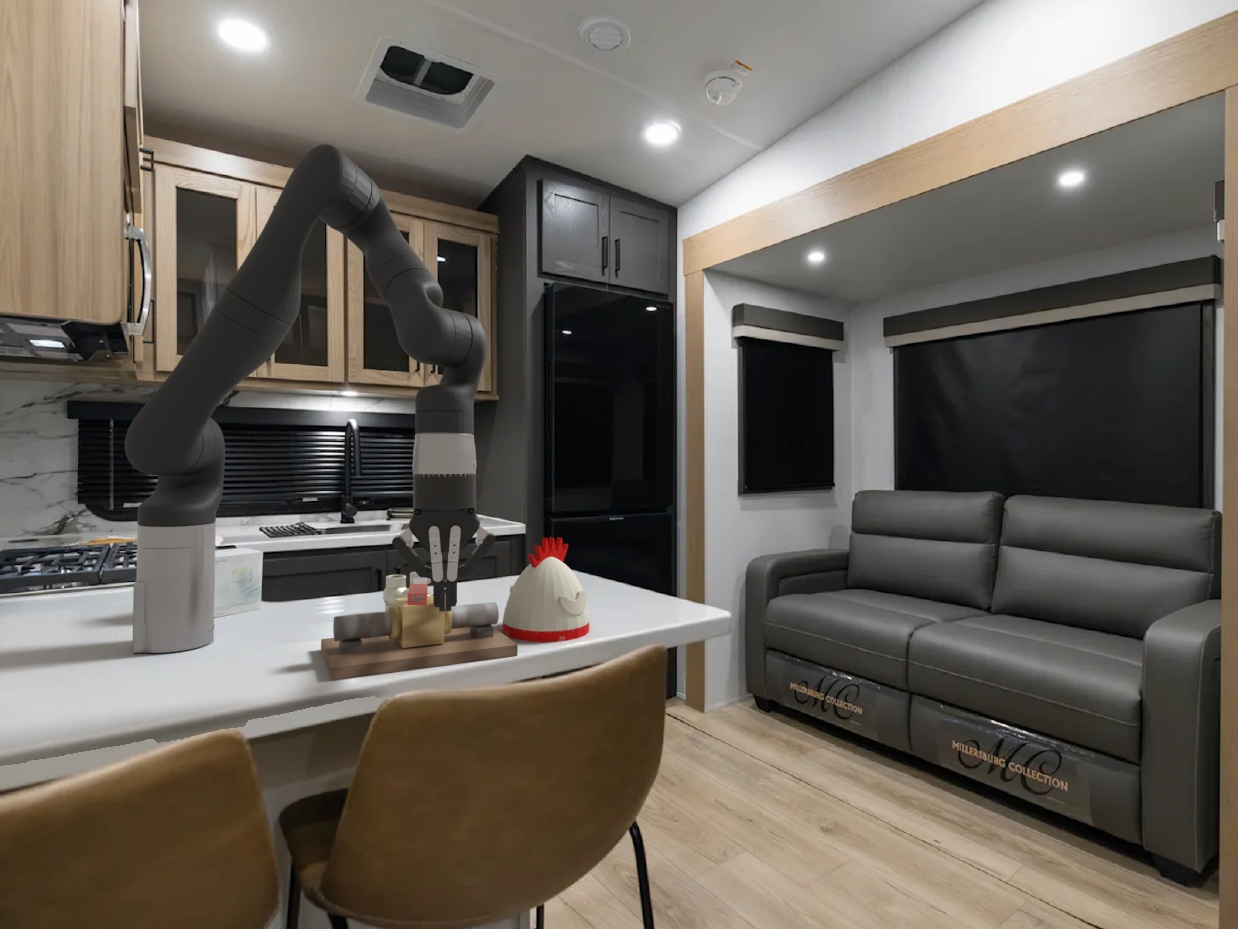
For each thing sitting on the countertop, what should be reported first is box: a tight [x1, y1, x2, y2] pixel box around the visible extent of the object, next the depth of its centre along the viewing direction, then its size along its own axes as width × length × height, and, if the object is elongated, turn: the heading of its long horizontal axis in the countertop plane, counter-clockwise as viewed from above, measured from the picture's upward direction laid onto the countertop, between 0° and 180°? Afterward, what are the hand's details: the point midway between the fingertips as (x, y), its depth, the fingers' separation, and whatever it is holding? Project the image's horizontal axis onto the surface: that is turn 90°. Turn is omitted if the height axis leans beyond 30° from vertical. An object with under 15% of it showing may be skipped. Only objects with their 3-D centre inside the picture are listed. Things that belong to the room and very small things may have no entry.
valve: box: [382, 574, 433, 612], centre depth 113 cm, size 7×7×12 cm
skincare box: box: [214, 547, 264, 619], centre depth 112 cm, size 10×6×10 cm, turn 148°
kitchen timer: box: [502, 536, 590, 643], centre depth 106 cm, size 14×14×15 cm
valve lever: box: [408, 571, 432, 606], centre depth 86 cm, size 15×3×1 cm, turn 15°
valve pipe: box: [320, 594, 519, 681], centre depth 92 cm, size 24×14×10 cm, turn 119°
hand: (445, 610), depth 81 cm, fingers closed
